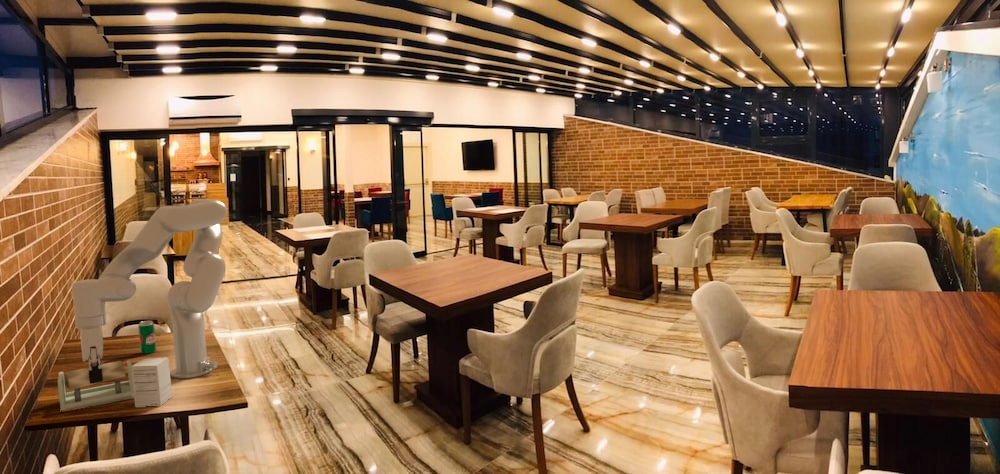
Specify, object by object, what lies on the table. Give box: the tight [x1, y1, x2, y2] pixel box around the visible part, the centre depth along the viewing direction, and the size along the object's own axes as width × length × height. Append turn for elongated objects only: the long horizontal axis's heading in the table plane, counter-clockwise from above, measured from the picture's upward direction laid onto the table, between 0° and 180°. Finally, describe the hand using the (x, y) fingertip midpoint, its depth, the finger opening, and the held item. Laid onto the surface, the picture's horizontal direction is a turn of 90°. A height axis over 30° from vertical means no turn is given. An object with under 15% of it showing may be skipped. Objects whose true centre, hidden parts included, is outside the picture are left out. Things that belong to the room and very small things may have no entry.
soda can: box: [137, 320, 157, 355], centre depth 215 cm, size 5×5×12 cm
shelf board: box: [64, 360, 127, 391], centre depth 170 cm, size 14×5×4 cm, turn 138°
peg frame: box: [57, 359, 134, 411], centre depth 170 cm, size 18×12×9 cm, turn 126°
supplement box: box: [131, 356, 173, 408], centre depth 167 cm, size 7×7×13 cm
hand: (96, 378), depth 170 cm, fingers closed on shelf board, 5 cm apart
